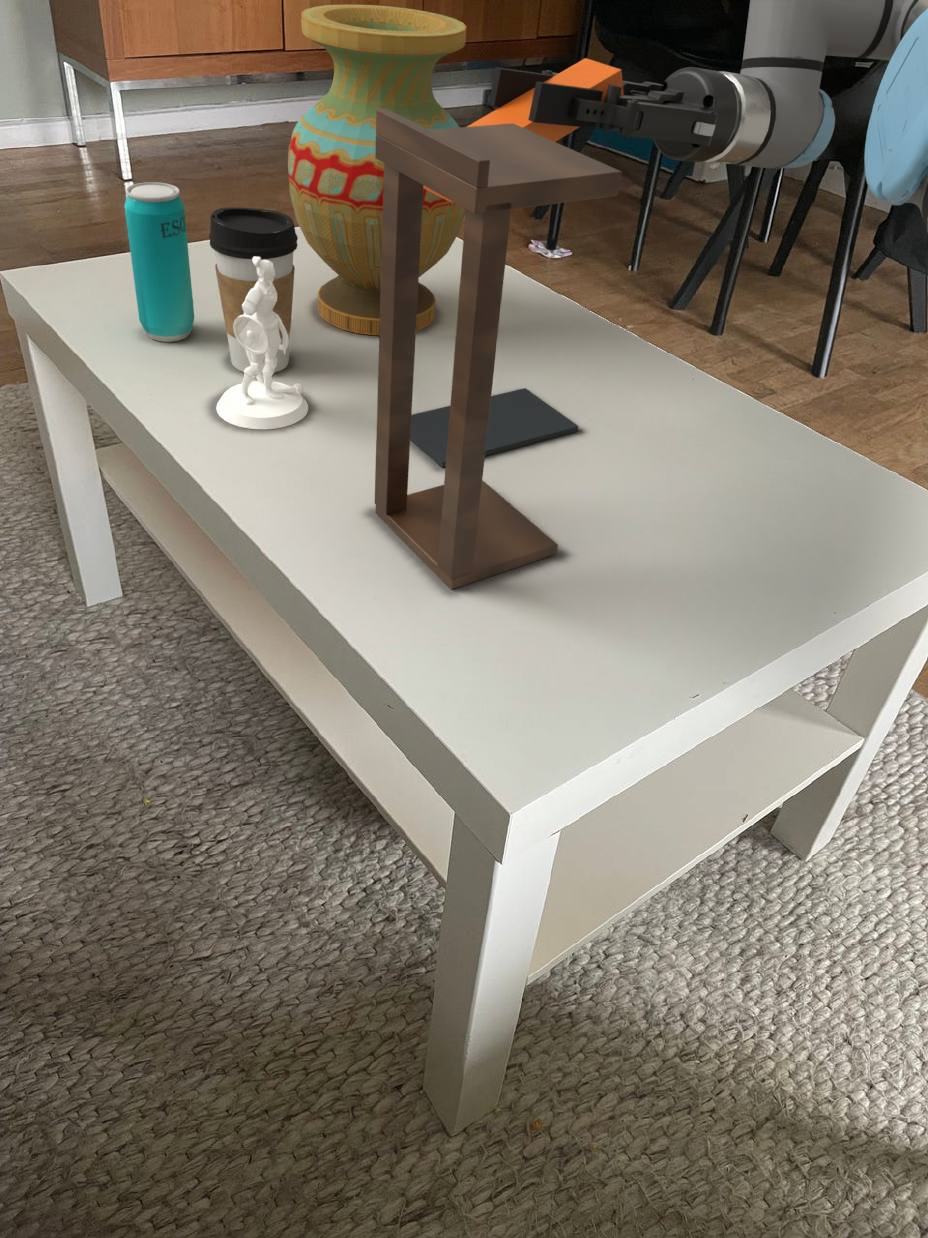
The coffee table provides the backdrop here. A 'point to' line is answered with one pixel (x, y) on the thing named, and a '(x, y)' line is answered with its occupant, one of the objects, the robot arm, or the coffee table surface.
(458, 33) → the vase
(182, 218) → the beverage can
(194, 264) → the coffee table surface
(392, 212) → the walnut rack
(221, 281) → the coffee cup
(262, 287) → the figurine
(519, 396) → the rubber pad
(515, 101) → the orange block
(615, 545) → the coffee table surface
